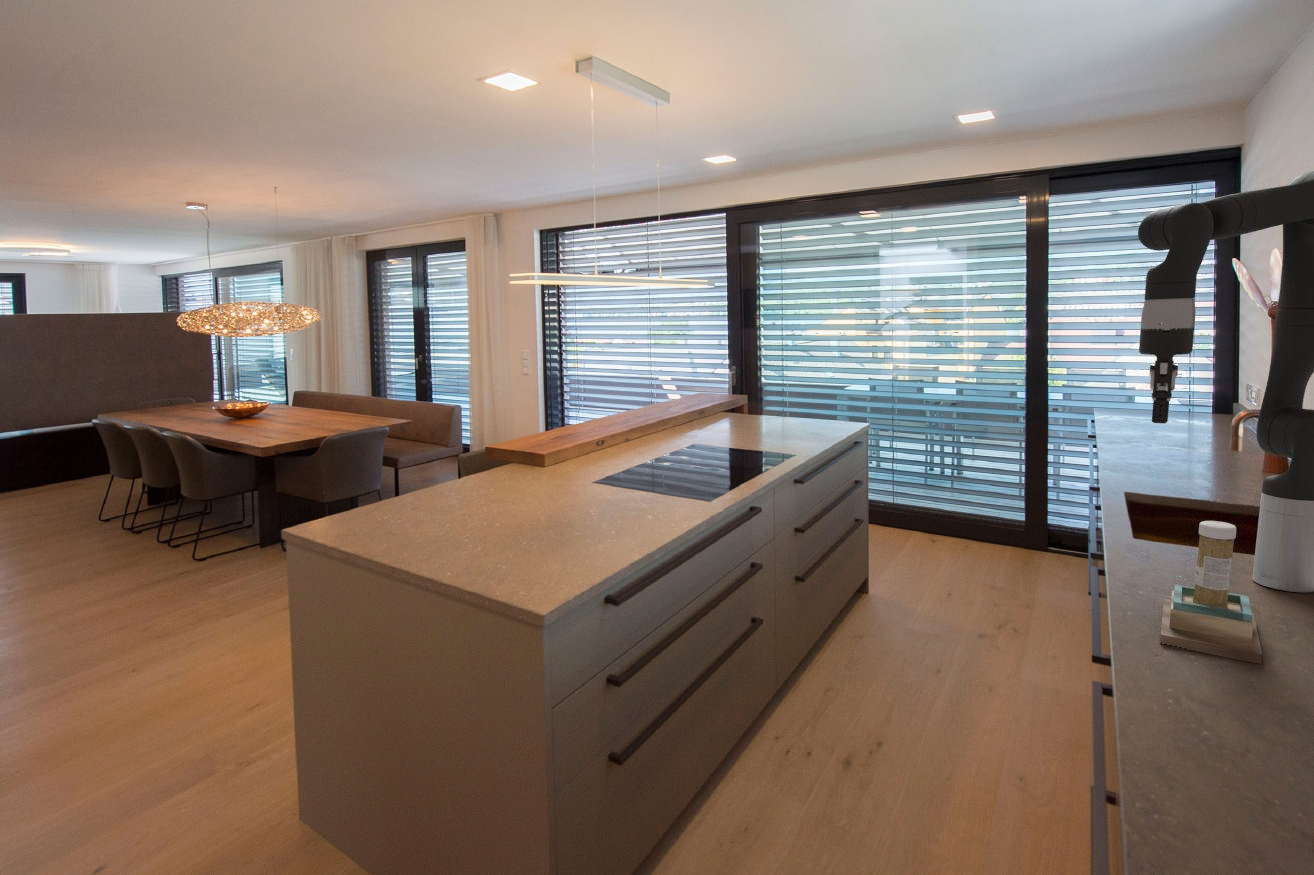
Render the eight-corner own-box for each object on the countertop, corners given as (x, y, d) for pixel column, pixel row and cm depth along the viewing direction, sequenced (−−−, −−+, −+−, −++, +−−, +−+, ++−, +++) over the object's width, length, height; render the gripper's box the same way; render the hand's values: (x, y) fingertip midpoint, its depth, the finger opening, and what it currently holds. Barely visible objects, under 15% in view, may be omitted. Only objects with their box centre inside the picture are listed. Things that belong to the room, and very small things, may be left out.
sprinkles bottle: (1194, 598, 116) (1201, 518, 114) (1229, 605, 112) (1238, 523, 110) (1190, 606, 112) (1197, 524, 110) (1226, 613, 109) (1235, 529, 107)
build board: (1163, 606, 124) (1166, 575, 123) (1252, 622, 116) (1256, 589, 116) (1159, 643, 109) (1163, 608, 109) (1261, 664, 102) (1265, 626, 101)
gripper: (1142, 326, 129) (1135, 414, 131) (1139, 327, 118) (1132, 423, 120) (1193, 325, 125) (1185, 416, 127) (1195, 326, 113) (1187, 426, 116)
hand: (1159, 420), depth 124 cm, fingers open, 8 cm apart
